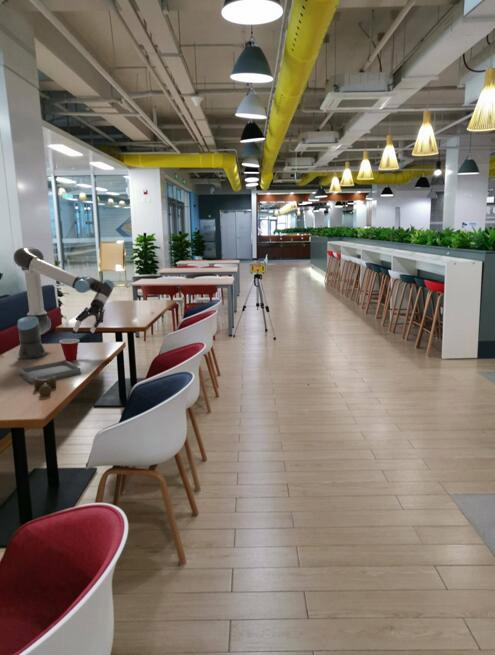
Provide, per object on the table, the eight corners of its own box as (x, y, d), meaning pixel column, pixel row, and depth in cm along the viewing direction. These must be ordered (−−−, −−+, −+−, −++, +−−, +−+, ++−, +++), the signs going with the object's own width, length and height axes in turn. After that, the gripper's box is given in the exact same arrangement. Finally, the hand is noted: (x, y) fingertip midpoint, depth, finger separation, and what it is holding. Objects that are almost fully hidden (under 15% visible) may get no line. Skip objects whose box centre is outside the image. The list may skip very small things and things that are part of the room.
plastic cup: (75, 363, 281) (72, 342, 279) (57, 362, 284) (55, 342, 281) (85, 358, 292) (82, 338, 290) (68, 358, 294) (66, 338, 292)
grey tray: (20, 374, 263) (19, 368, 263) (66, 365, 277) (65, 360, 277) (32, 383, 244) (31, 378, 244) (80, 373, 258) (80, 368, 258)
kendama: (34, 399, 222) (35, 386, 240) (57, 396, 226) (56, 383, 244) (32, 386, 221) (34, 374, 239) (56, 384, 224) (55, 371, 243)
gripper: (117, 306, 301) (102, 335, 291) (87, 305, 313) (71, 333, 303) (110, 298, 296) (95, 328, 286) (80, 298, 307) (63, 326, 297)
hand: (83, 331), depth 294 cm, fingers open, 13 cm apart
